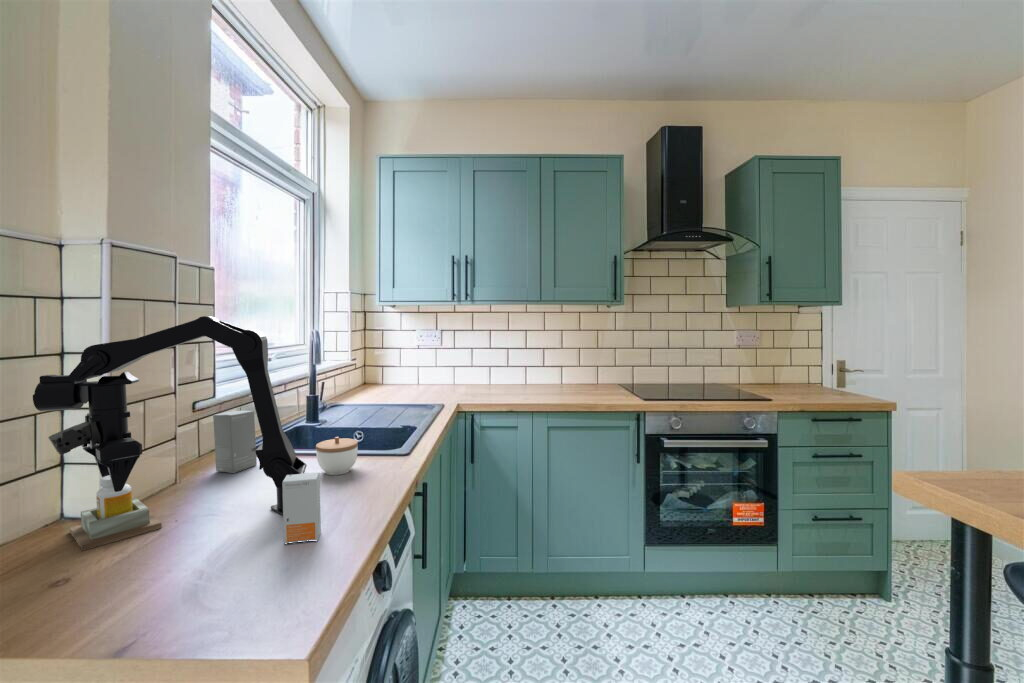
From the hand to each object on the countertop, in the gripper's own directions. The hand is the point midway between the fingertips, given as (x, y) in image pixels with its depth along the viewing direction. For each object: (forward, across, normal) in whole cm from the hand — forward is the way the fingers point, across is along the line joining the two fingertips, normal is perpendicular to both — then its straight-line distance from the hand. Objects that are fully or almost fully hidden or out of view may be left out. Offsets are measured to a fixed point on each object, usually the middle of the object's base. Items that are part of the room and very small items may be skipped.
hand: (112, 486), depth 95 cm
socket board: (+9, 0, 0) cm, 9 cm away
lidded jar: (+9, +2, +47) cm, 48 cm away
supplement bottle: (+8, 0, 0) cm, 8 cm away
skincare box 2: (+9, +33, +22) cm, 41 cm away
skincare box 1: (+9, -23, +31) cm, 40 cm away
